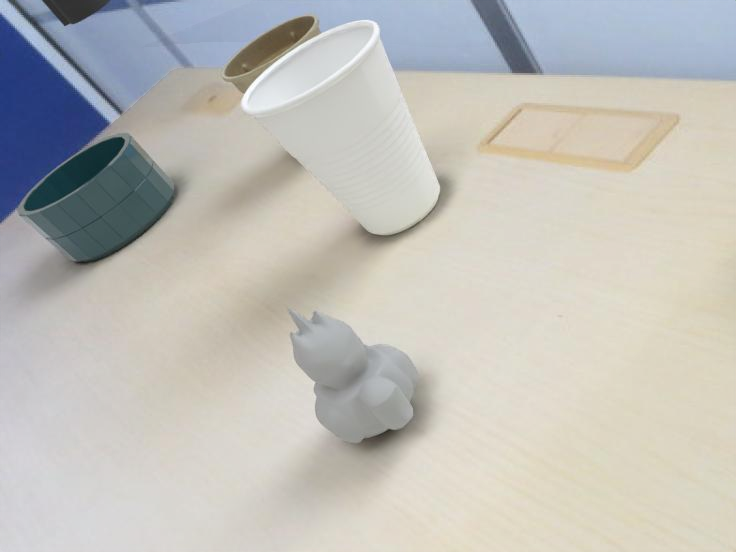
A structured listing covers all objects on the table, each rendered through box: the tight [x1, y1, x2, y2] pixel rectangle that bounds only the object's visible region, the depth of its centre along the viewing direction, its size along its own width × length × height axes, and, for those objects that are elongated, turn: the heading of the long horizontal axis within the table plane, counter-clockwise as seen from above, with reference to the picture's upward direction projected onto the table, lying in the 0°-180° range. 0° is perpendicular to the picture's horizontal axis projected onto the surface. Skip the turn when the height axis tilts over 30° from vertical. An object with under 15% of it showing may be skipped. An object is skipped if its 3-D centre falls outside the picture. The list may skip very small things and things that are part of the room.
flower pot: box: [220, 13, 323, 95], centre depth 65 cm, size 9×9×9 cm
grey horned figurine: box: [285, 305, 420, 444], centre depth 37 cm, size 5×7×8 cm
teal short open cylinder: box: [16, 132, 175, 263], centre depth 73 cm, size 12×12×6 cm
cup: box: [240, 19, 441, 236], centre depth 50 cm, size 10×10×11 cm
